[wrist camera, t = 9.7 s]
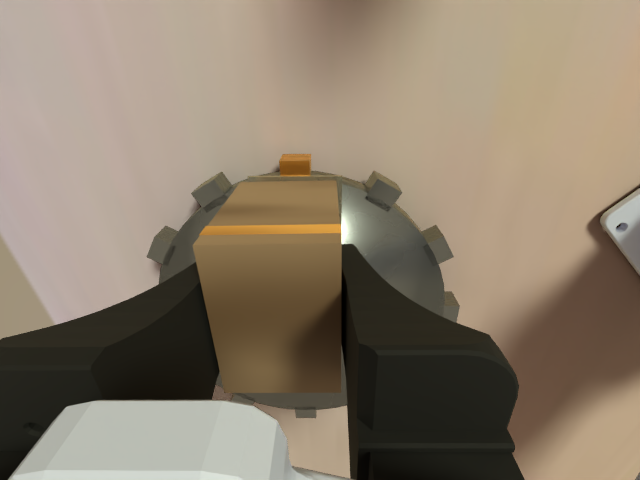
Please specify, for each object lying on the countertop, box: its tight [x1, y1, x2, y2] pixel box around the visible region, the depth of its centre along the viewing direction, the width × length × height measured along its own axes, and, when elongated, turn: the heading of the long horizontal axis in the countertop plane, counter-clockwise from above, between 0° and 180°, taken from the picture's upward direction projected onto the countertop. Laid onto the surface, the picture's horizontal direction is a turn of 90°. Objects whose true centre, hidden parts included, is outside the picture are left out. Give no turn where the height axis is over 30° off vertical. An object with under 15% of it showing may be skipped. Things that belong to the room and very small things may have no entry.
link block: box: [193, 180, 342, 393], centre depth 11 cm, size 5×4×5 cm
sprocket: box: [147, 154, 460, 418], centre depth 16 cm, size 15×15×5 cm
